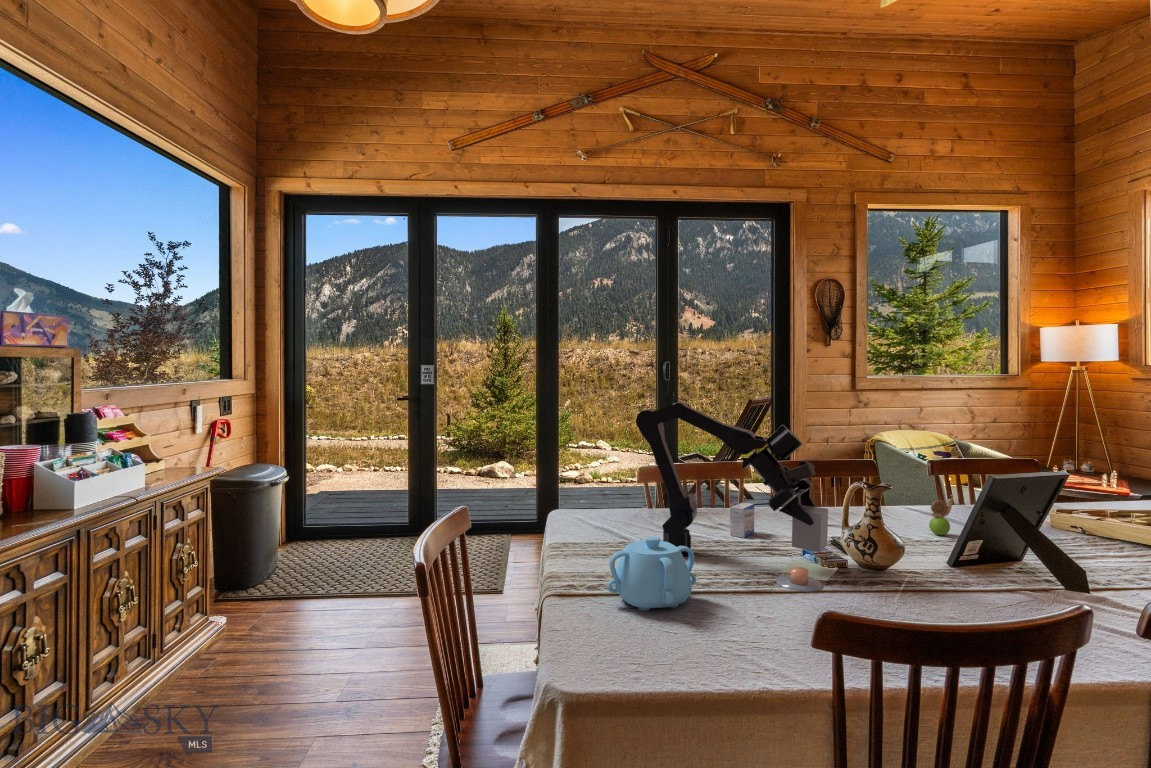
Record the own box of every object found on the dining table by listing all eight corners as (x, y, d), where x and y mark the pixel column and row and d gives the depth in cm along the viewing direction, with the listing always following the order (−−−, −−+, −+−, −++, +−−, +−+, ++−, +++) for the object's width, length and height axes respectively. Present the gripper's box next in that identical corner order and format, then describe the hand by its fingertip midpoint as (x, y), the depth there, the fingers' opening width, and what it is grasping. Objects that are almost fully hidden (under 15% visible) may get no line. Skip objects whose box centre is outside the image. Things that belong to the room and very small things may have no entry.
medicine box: (744, 538, 184) (744, 508, 184) (729, 535, 187) (729, 506, 186) (754, 532, 190) (754, 503, 190) (740, 530, 193) (740, 501, 193)
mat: (779, 573, 154) (779, 571, 154) (792, 561, 163) (792, 559, 163) (827, 582, 147) (827, 580, 147) (838, 569, 156) (838, 568, 156)
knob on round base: (796, 595, 139) (796, 579, 139) (766, 580, 148) (767, 565, 148) (832, 589, 142) (832, 573, 142) (801, 575, 152) (801, 560, 152)
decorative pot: (668, 623, 124) (669, 554, 123) (599, 604, 133) (599, 539, 133) (703, 598, 137) (704, 536, 136) (638, 582, 146) (639, 524, 146)
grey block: (791, 546, 154) (792, 509, 154) (799, 540, 159) (800, 504, 159) (820, 551, 150) (821, 513, 150) (827, 545, 155) (828, 508, 155)
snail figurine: (957, 537, 186) (958, 496, 185) (935, 537, 186) (936, 496, 186) (946, 532, 191) (947, 493, 191) (925, 532, 191) (926, 492, 191)
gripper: (783, 454, 148) (832, 508, 143) (805, 446, 164) (850, 494, 158) (749, 484, 153) (795, 537, 147) (774, 473, 169) (816, 521, 163)
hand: (816, 521), depth 154 cm, fingers closed on grey block, 7 cm apart
